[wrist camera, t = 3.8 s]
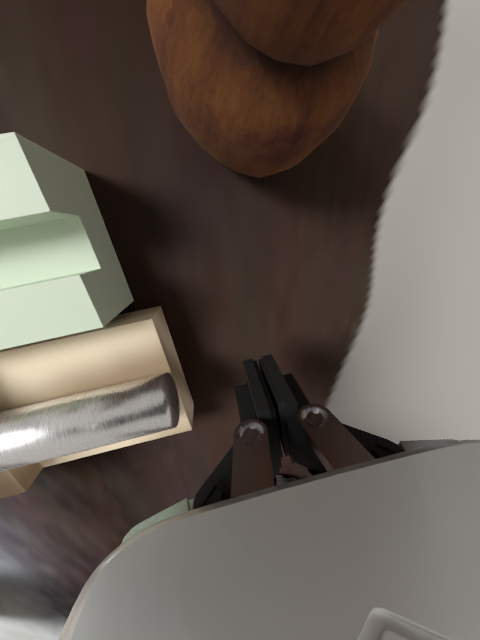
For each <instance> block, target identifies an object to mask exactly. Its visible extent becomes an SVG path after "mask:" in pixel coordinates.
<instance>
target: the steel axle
mask: <svg viewBox="0 0 480 640" xmlns="http://www.w3.org/2000/svg"><path fill="white" fill-rule="evenodd" d="M179 415H180V406H179V397H178V391H177V387H176V384H175V381H174V379H173V377H172V376H171V374H170V373H163V374H159V375H155V376H150V377H146V378H142V379H138V380H134V381H129V382H125V383H121V384H117V385H112V386H108V387H104V388H100V389H96V390H91V391H87V392H83V393H79V394H74V395H70V396H66V397H62V398H57V399H53V400H49V401H45V402H41V403H36V404H32V405H28V406H24V407H19V408H15V409H11V410H7V411H3V412H0V472H3V471H7V470H11V469H15V468H19V467H23V466H27V465H31V464H34V463H38V462H42V461H46V460H50V459H54V458H58V457H62V456H66V455H70V454H74V453H78V452H82V451H86V450H90V449H94V448H98V447H102V446H106V445H110V444H114V443H118V442H121V441H125V440H129V439H133V438H137V437H141V436H145V435H149V434H153V433H157V432H161V431H165V430H169V429H173V428H176V427H177V425H178V422H179Z"/></svg>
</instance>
